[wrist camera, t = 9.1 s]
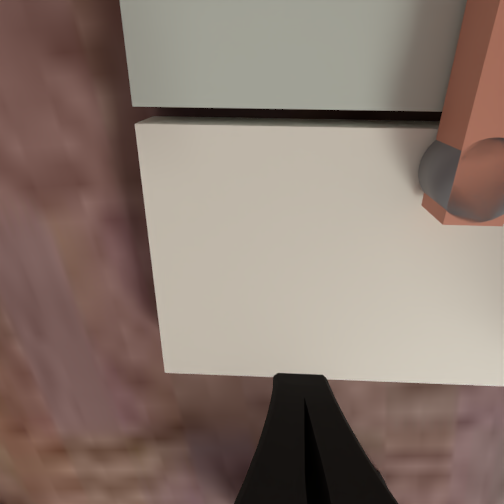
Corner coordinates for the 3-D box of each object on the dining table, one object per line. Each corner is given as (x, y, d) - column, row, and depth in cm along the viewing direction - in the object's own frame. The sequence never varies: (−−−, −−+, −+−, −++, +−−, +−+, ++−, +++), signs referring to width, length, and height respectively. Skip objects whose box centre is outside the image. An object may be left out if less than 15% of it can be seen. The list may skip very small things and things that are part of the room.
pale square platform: (751, -320, 10) (1081, -584, 6) (493, 352, 21) (549, 424, 17) (111, -307, 11) (12, -540, 7) (175, 341, 22) (152, 407, 17)
